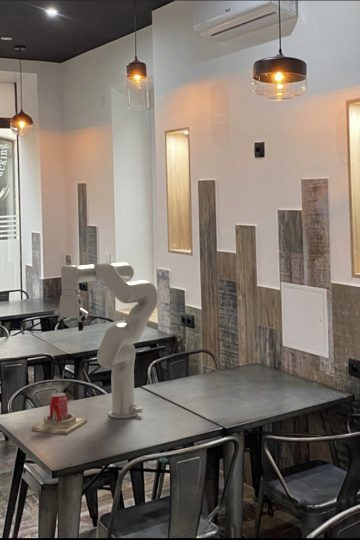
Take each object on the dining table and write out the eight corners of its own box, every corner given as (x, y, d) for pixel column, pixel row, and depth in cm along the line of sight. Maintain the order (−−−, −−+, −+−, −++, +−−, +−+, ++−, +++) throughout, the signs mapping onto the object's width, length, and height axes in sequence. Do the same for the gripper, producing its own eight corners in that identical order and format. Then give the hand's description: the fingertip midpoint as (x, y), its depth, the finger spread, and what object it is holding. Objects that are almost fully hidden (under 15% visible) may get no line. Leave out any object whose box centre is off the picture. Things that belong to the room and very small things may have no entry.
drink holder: (86, 422, 271) (86, 413, 271) (67, 434, 256) (66, 425, 256) (53, 418, 277) (53, 409, 276) (32, 430, 262) (31, 421, 261)
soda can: (51, 420, 270) (50, 392, 269) (68, 419, 270) (67, 391, 269) (49, 426, 263) (48, 397, 262) (67, 425, 263) (66, 396, 262)
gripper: (91, 292, 296) (92, 329, 298) (57, 291, 302) (59, 327, 304) (83, 294, 289) (84, 332, 291) (49, 293, 295) (50, 330, 297)
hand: (71, 329), depth 297 cm, fingers open, 9 cm apart
